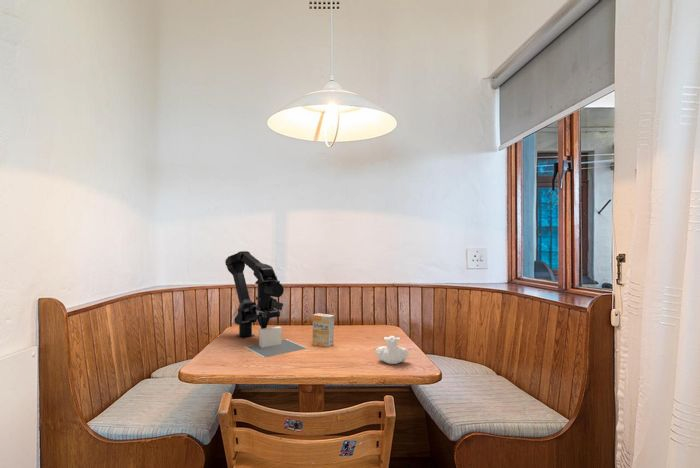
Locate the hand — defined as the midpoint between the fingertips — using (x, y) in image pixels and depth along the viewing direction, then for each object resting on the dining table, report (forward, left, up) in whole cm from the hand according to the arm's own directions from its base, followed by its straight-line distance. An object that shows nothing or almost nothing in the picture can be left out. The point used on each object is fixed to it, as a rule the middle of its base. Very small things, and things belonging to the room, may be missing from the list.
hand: (264, 330), depth 163 cm
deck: (+6, 0, -5) cm, 8 cm away
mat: (+11, 0, -5) cm, 12 cm away
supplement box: (+19, +18, -5) cm, 27 cm away
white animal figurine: (+53, +25, -5) cm, 59 cm away
